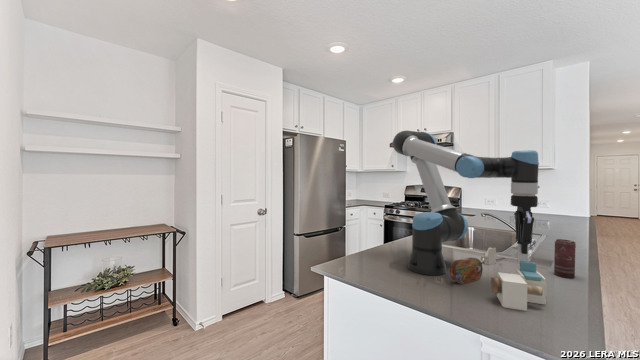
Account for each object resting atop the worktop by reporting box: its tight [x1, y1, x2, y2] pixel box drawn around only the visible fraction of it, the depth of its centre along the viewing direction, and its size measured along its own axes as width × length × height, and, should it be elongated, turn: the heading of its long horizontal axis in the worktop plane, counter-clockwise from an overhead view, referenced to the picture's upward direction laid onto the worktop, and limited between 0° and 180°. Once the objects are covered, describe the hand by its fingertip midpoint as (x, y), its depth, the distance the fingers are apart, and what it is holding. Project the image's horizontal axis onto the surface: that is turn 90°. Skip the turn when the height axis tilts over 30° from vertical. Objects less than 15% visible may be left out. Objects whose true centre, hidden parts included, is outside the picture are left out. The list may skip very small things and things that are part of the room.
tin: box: [449, 257, 484, 285], centre depth 104 cm, size 15×3×8 cm, turn 114°
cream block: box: [496, 271, 528, 312], centre depth 86 cm, size 6×8×8 cm
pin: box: [490, 276, 543, 296], centre depth 85 cm, size 13×5×5 cm, turn 68°
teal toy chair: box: [518, 261, 542, 281], centre depth 89 cm, size 4×7×4 cm, turn 158°
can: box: [553, 238, 577, 279], centre depth 109 cm, size 6×6×14 cm
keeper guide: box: [514, 268, 547, 305], centre depth 89 cm, size 6×7×8 cm
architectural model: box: [480, 246, 497, 266], centre depth 125 cm, size 3×7×7 cm, turn 119°
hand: (522, 262), depth 97 cm, fingers closed
